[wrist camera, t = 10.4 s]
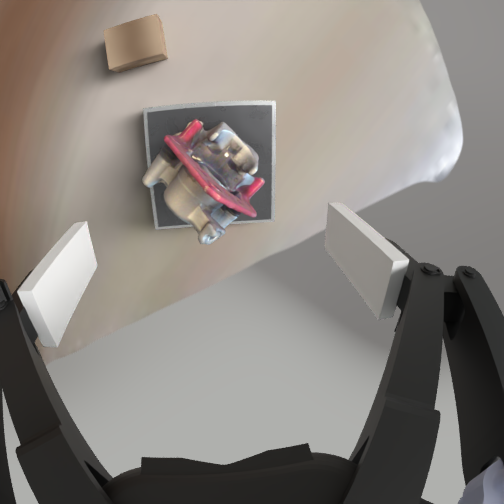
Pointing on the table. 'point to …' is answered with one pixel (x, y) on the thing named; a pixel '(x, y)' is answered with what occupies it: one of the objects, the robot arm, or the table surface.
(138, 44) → the brown rectangular block
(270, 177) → the stand
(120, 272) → the table surface
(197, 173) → the brake caliper
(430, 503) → the robot arm
